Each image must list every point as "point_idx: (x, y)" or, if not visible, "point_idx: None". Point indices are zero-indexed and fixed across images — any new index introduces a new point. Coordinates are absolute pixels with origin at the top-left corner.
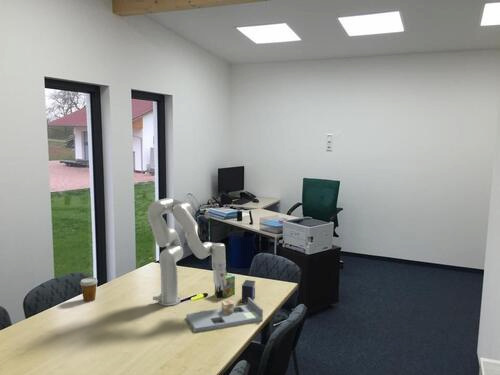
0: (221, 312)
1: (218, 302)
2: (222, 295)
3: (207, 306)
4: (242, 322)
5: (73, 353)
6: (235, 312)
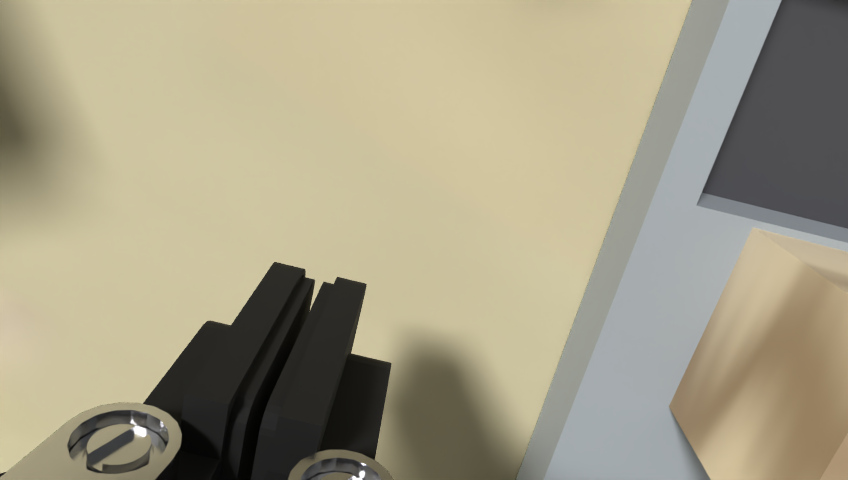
0: None
1: (76, 106)
2: (353, 320)
3: None
4: None
5: None
6: (804, 119)
